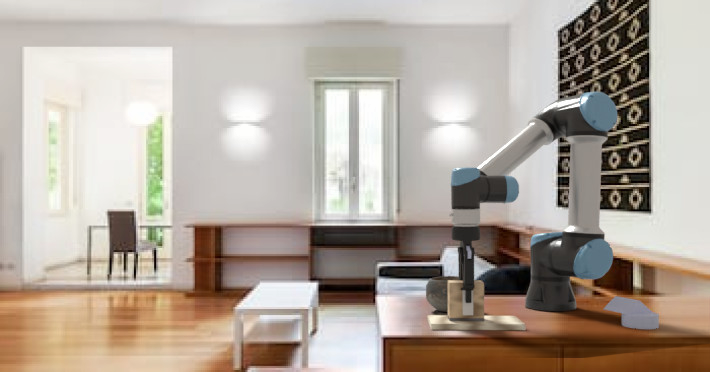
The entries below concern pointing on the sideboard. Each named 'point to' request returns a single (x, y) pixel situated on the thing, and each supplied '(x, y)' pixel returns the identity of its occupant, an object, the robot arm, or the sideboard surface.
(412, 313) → the sideboard surface
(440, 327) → the board
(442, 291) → the bowl
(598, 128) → the robot arm
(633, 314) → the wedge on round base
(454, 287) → the block
